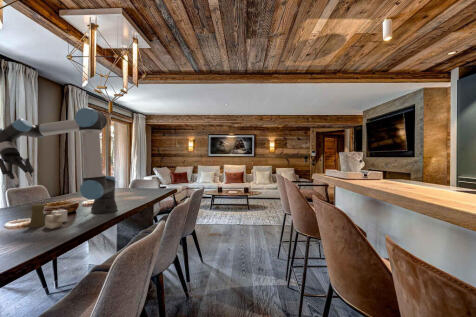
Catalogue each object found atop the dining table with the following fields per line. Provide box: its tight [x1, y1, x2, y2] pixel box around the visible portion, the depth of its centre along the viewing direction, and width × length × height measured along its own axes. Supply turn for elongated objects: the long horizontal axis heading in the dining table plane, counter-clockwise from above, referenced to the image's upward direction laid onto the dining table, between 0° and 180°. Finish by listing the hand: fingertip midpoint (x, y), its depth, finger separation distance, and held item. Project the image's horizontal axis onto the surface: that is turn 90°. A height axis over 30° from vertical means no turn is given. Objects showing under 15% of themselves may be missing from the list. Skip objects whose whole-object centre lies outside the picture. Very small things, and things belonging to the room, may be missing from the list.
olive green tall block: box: [29, 203, 45, 228], centre depth 117 cm, size 6×6×11 cm
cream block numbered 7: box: [51, 209, 68, 223], centre depth 125 cm, size 5×5×6 cm
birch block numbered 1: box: [44, 213, 63, 229], centre depth 116 cm, size 5×5×6 cm
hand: (24, 182), depth 121 cm, fingers open, 5 cm apart
